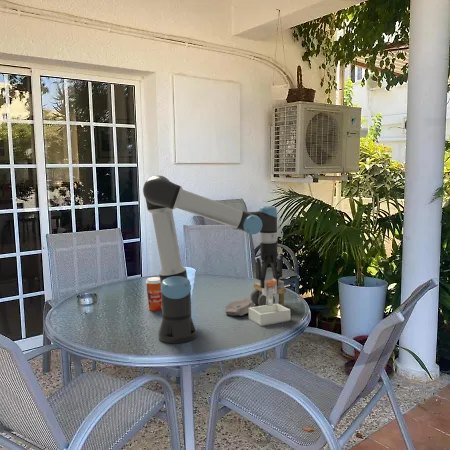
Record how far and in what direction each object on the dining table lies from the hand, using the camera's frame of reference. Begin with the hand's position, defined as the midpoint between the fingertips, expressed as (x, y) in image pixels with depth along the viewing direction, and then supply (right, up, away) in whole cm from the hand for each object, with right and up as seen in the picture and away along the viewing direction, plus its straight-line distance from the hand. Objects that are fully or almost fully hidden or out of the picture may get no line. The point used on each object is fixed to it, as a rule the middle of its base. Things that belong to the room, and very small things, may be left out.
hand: (269, 294), depth 195 cm
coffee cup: (-53, -11, +20) cm, 58 cm away
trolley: (+1, -9, +20) cm, 22 cm away
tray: (0, -12, +1) cm, 12 cm away
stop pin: (0, -5, 0) cm, 5 cm away
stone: (-13, -11, +10) cm, 20 cm away
